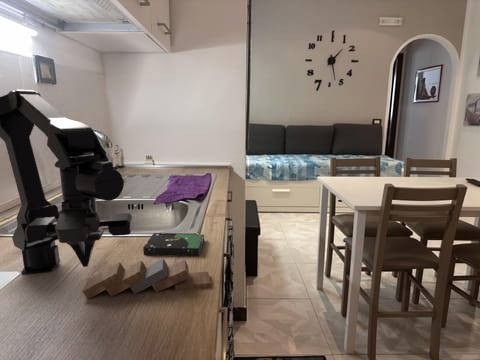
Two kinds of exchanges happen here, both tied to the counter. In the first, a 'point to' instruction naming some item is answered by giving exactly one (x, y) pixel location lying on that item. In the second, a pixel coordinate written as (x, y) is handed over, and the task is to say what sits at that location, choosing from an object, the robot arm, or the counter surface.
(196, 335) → the counter surface
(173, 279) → the domino
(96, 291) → the domino
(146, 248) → the disk drive
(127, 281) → the domino
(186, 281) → the domino
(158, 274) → the domino
